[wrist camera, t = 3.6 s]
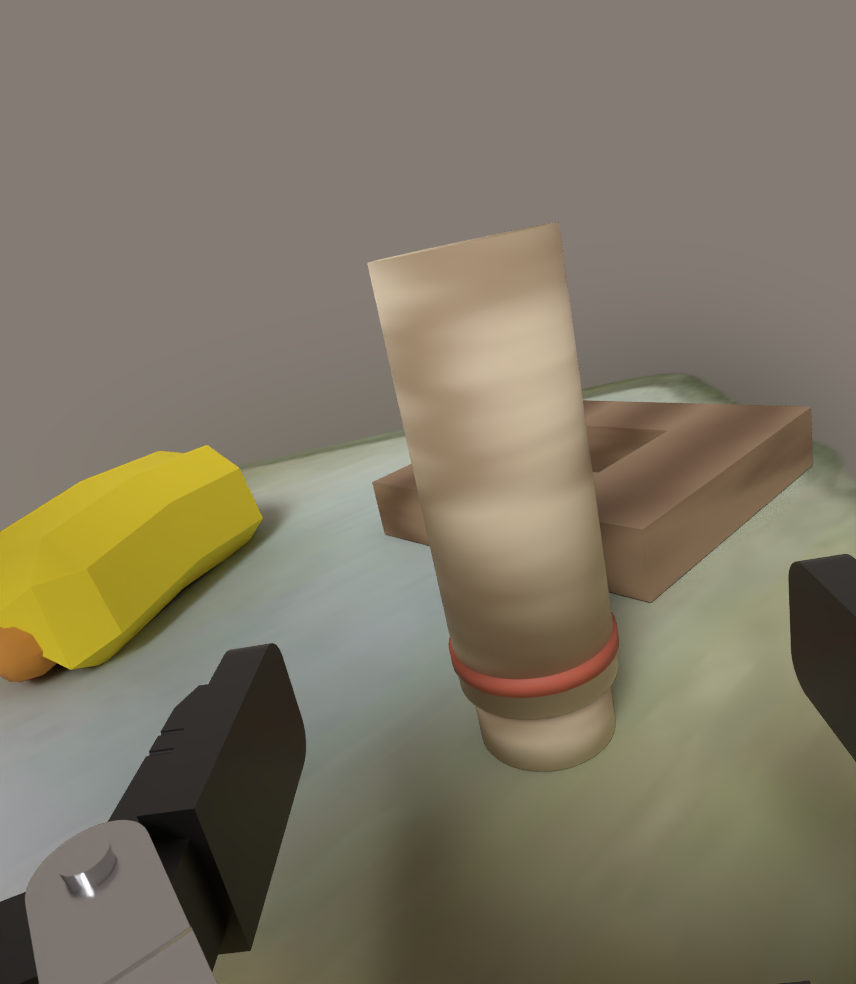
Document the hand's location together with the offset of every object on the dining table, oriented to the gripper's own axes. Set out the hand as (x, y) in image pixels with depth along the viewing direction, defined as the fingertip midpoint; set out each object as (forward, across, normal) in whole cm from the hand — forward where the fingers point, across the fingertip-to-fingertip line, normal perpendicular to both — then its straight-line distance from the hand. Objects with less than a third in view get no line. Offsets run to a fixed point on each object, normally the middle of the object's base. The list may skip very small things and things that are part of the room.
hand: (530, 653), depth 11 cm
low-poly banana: (+23, +19, +8) cm, 31 cm away
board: (+25, -4, +8) cm, 27 cm away
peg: (+8, 0, +8) cm, 11 cm away
